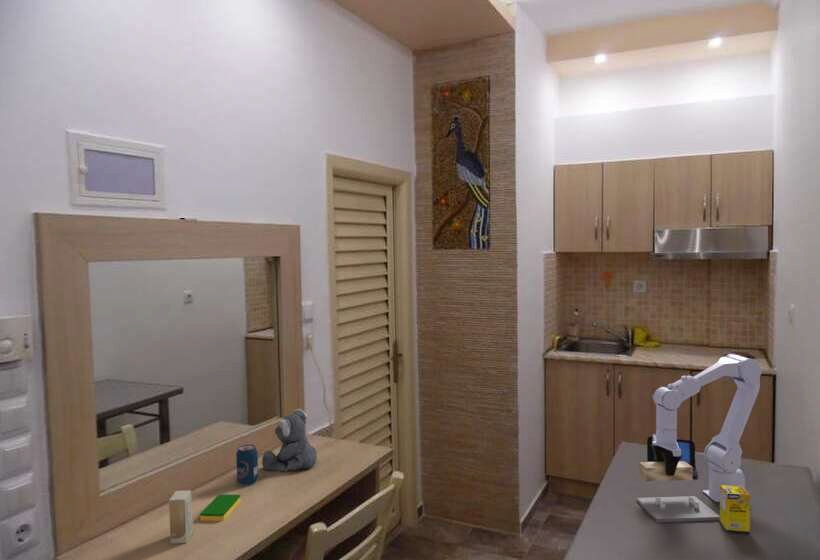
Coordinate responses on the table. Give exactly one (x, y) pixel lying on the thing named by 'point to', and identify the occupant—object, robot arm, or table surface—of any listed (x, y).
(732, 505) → the supplement box
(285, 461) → the koala plush
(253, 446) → the soda can
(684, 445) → the handheld game console
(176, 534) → the skincare box
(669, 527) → the table surface
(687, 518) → the peg stand
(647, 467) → the shelf board
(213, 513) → the dish sponge
